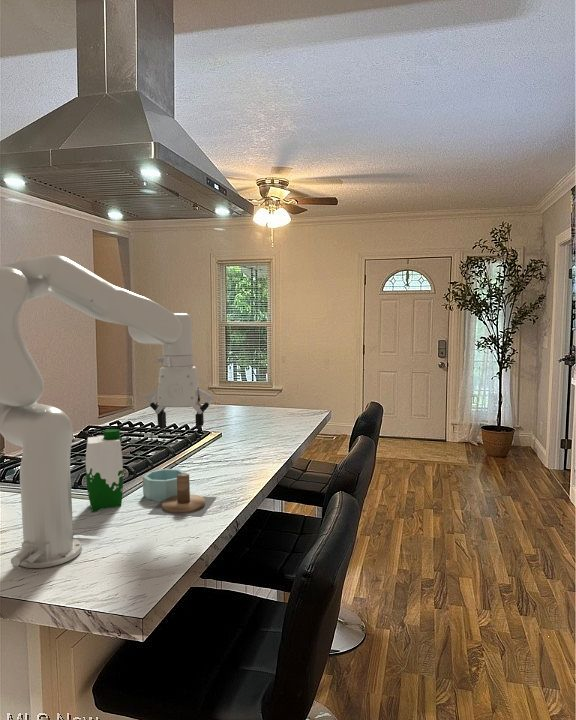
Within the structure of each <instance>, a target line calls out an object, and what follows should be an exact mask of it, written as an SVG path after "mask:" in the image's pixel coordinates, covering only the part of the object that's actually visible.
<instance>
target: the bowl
mask: <svg viewBox="0 0 576 720" xmlns="http://www.w3.org/2000/svg"><path fill="white" fill-rule="evenodd" d="M182 473H186V474H188V472H187V471H184V470H183V469H178V468H177V469H176V468H162V469H161V468H160V469H157V470H153V471H147V473H146V474H144V475H143V476H142V494H143V495H144V497H145V498H146V499H147V500H149V501H155V502H161V501H164V500H165V499H167V498H169V497H172V496H177V475H178V474H182Z"/></svg>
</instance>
